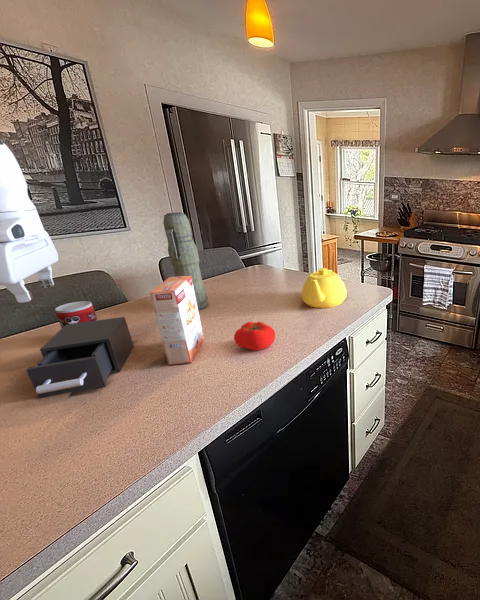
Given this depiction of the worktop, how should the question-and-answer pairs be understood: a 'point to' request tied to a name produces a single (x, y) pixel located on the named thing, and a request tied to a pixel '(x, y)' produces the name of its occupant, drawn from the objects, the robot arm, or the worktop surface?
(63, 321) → the canned food
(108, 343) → the small drawer unit
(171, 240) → the thermos
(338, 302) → the teapot
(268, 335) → the tomato
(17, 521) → the worktop surface
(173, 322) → the cracker box
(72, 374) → the drawer
